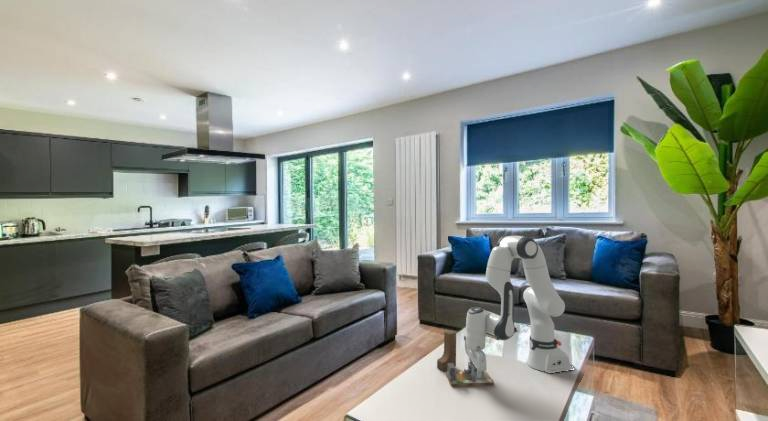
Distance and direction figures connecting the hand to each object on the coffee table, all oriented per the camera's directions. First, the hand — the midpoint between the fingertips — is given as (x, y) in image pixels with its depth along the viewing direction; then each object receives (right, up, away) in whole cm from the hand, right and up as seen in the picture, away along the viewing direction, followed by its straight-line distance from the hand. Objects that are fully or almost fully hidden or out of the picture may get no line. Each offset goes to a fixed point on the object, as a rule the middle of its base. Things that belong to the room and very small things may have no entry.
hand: (475, 371), depth 167 cm
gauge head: (-1, -3, -1) cm, 3 cm away
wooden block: (-11, -4, +12) cm, 17 cm away
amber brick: (-8, -3, -4) cm, 9 cm away
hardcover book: (+29, -3, +62) cm, 68 cm away
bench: (-3, -4, 0) cm, 5 cm away
